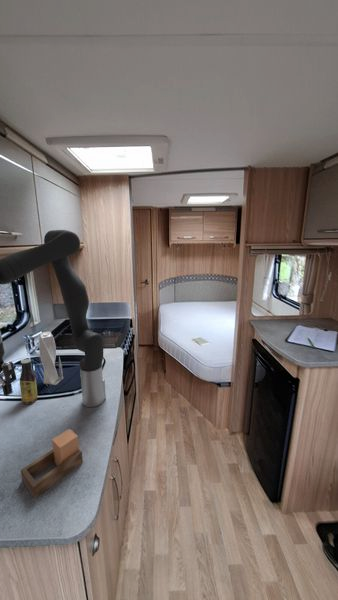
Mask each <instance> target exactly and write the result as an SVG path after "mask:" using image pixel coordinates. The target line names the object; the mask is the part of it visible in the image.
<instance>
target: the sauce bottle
mask: <svg viewBox="0 0 338 600" xmlns="http://www.w3.org/2000/svg"><path fill="white" fill-rule="evenodd" d="M20 366H21V372H20V377H19V387H20V388H19V389H20V396H21V398H20V399H21V402H22V404H24V405H30V404H34V403H35V402H36V401H37V400H38V389H37V387H38V386H37V378H36V372H35V371H34V370H33V367H32V359H30V358H26V359H22V360H21V361H20Z"/></svg>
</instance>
